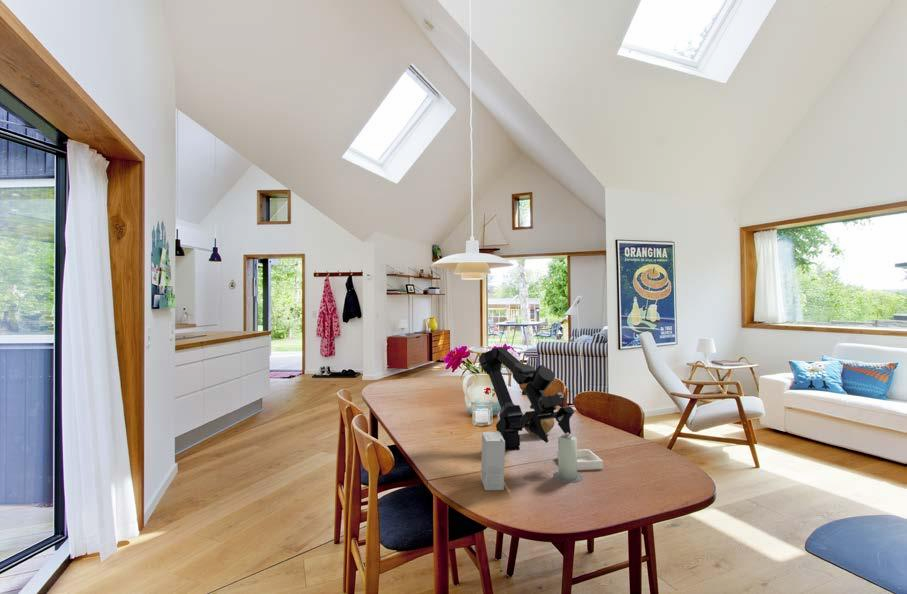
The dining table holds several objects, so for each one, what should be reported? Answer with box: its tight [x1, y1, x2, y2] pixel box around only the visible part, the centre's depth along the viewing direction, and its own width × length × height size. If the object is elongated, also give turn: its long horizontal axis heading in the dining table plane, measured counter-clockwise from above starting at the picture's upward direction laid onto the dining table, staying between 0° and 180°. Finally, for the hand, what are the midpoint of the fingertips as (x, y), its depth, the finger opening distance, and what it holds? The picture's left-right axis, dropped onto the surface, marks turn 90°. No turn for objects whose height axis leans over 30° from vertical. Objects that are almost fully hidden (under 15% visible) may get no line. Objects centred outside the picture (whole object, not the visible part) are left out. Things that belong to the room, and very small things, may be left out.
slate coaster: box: [552, 471, 584, 484], centre depth 138 cm, size 9×9×1 cm
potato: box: [524, 418, 555, 436], centre depth 183 cm, size 10×14×8 cm
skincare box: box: [480, 431, 506, 491], centre depth 133 cm, size 8×6×15 cm
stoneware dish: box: [556, 448, 604, 471], centre depth 149 cm, size 11×11×3 cm
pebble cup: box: [557, 433, 578, 480], centre depth 138 cm, size 6×6×14 cm
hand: (559, 439), depth 142 cm, fingers open, 9 cm apart
